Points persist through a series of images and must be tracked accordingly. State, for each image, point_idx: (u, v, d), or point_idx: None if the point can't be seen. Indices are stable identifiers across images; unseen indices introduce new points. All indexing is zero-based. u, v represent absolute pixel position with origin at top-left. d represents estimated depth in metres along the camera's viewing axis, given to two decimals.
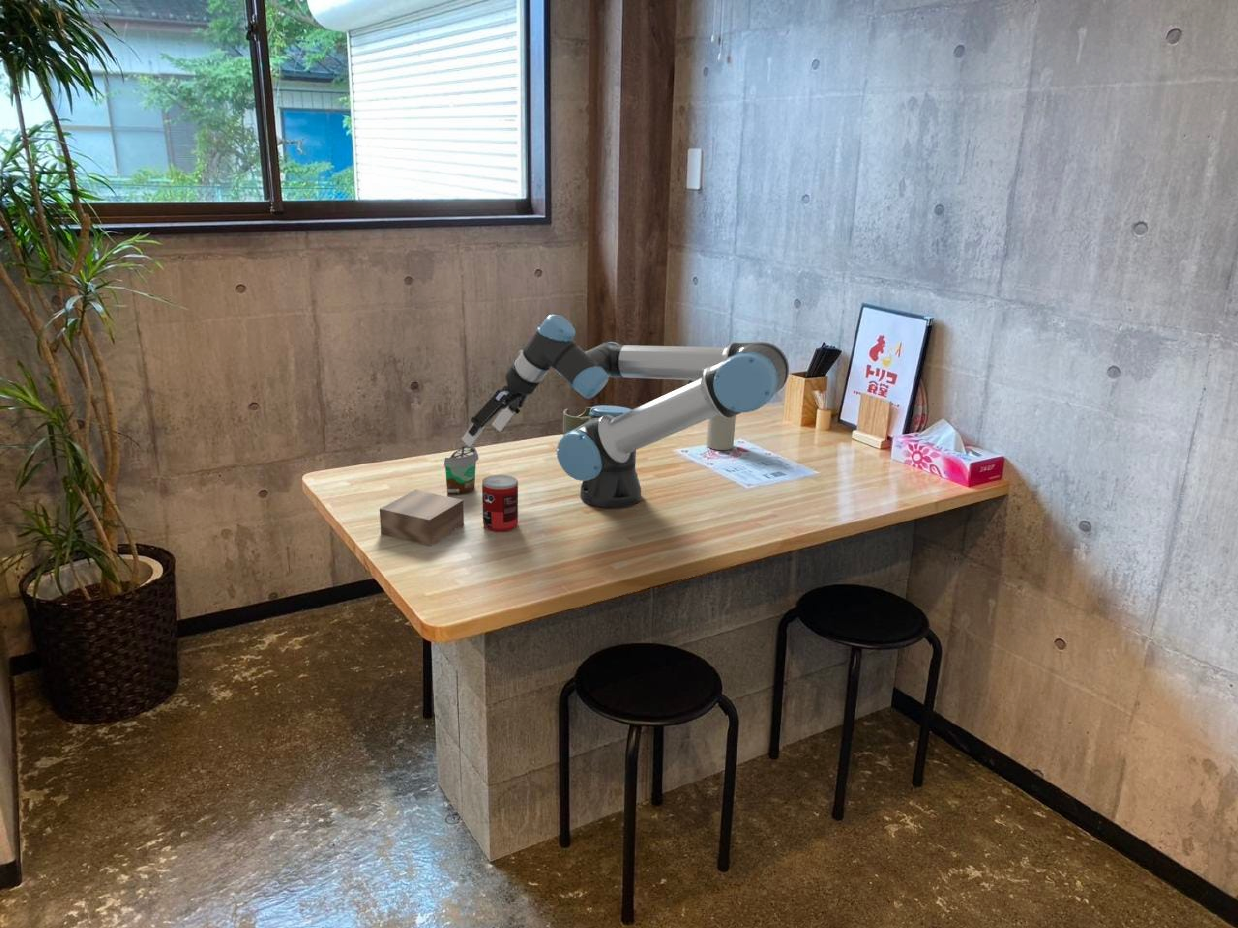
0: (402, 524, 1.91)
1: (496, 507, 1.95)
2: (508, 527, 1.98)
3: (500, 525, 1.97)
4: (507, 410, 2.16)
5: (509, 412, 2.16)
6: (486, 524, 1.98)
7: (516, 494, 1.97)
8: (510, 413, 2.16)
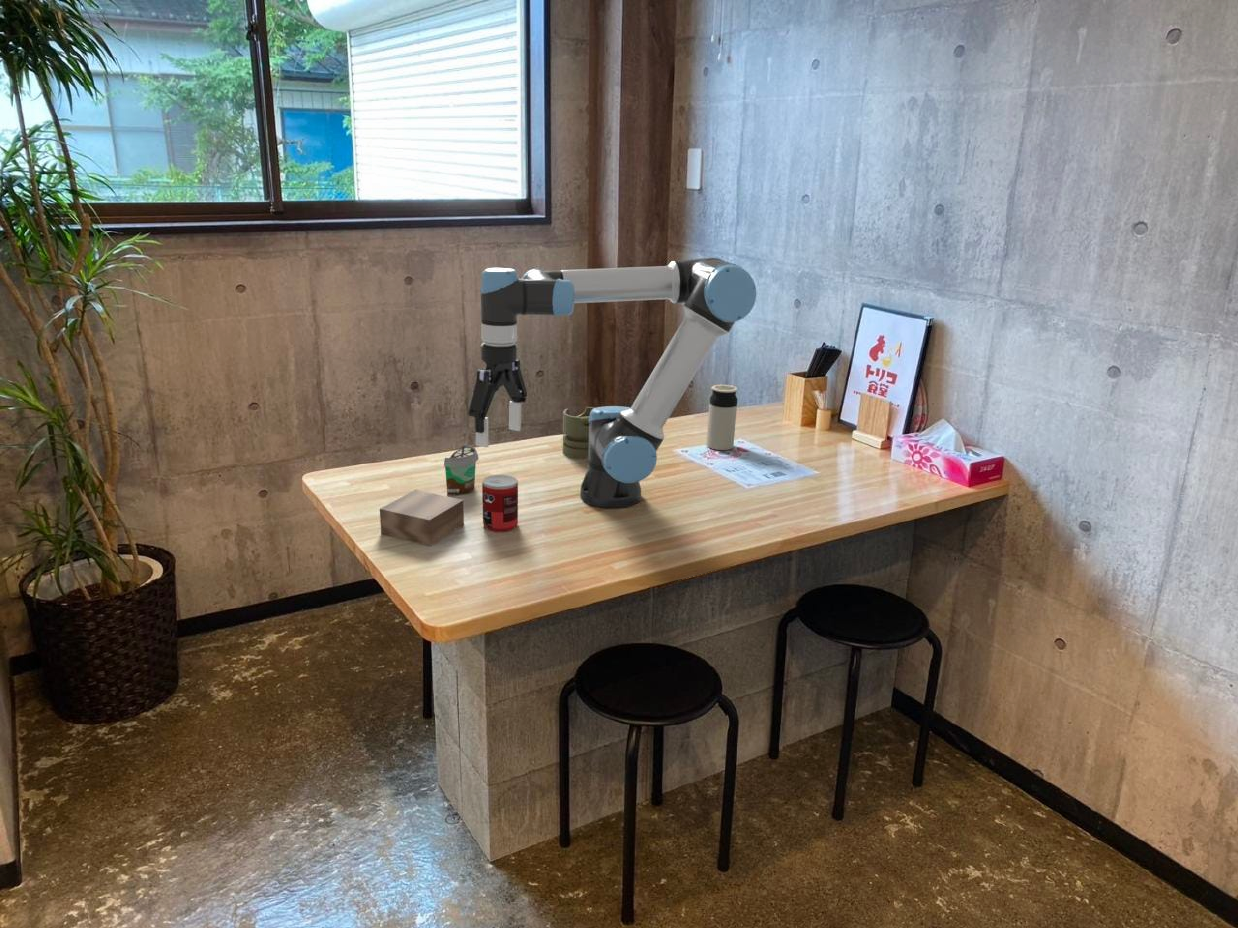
0: (402, 524, 1.91)
1: (496, 507, 1.95)
2: (508, 527, 1.98)
3: (500, 525, 1.97)
4: (513, 404, 1.98)
5: (516, 404, 1.98)
6: (486, 524, 1.98)
7: (516, 494, 1.97)
8: (517, 405, 1.97)
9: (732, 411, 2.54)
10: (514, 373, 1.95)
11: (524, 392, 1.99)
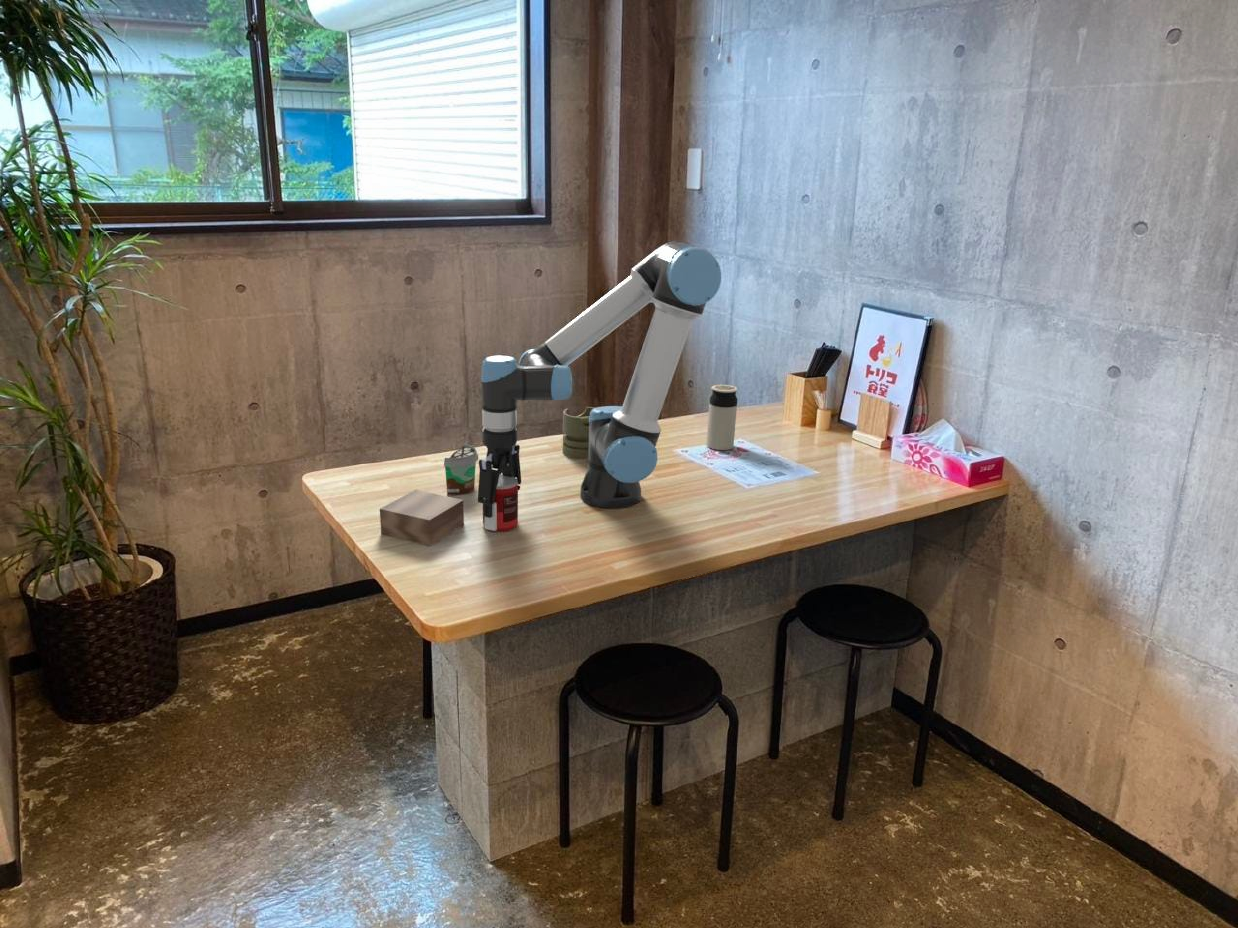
0: (402, 524, 1.91)
1: None
2: (508, 527, 1.98)
3: (500, 525, 1.97)
4: None
5: None
6: None
7: (516, 494, 1.97)
8: None
9: (732, 411, 2.54)
10: (512, 457, 2.01)
11: (519, 479, 2.03)
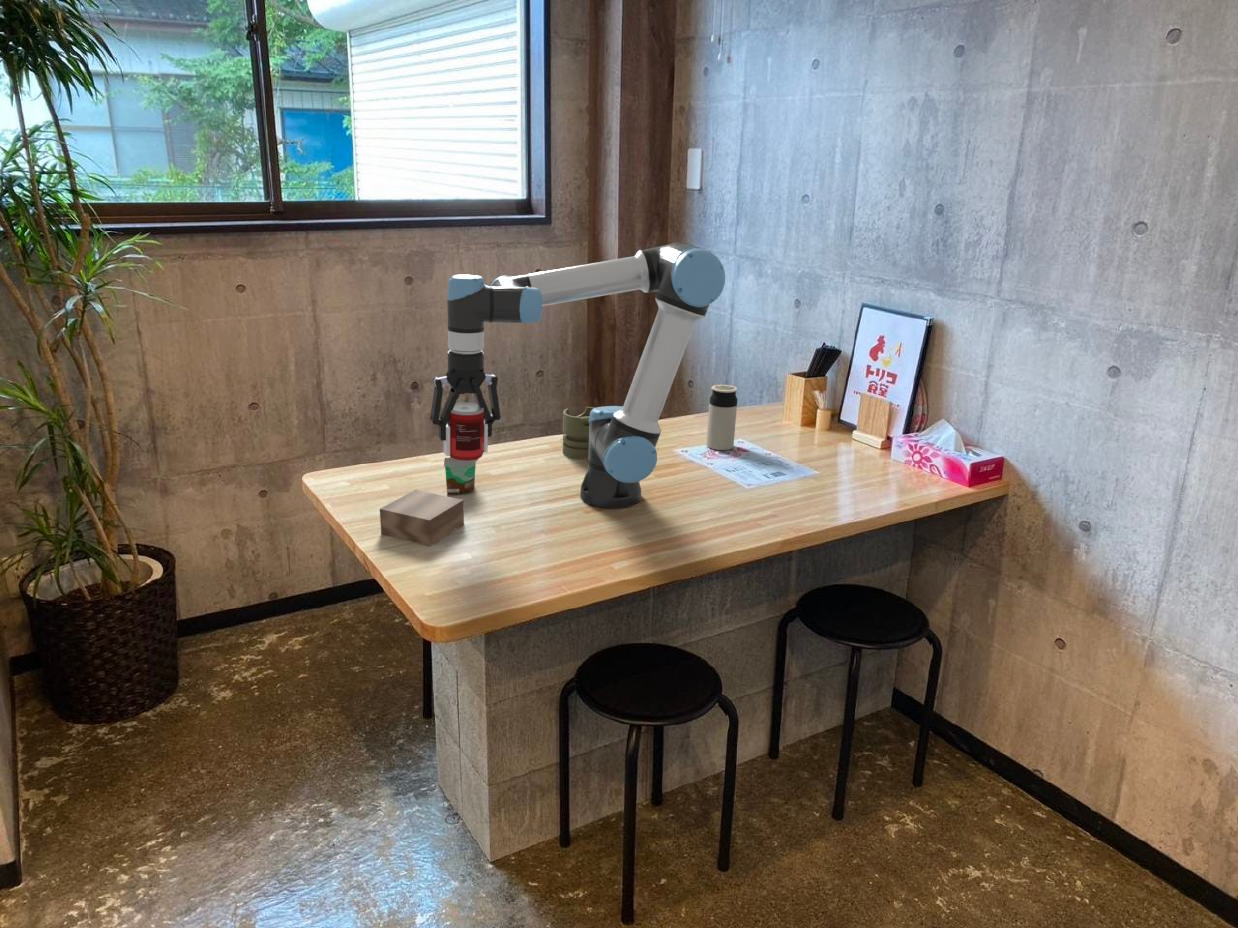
0: (402, 524, 1.91)
1: (451, 431, 1.89)
2: (461, 456, 1.90)
3: (453, 452, 1.90)
4: None
5: None
6: None
7: (474, 424, 1.88)
8: None
9: (732, 411, 2.54)
10: (489, 389, 1.91)
11: (496, 414, 1.92)
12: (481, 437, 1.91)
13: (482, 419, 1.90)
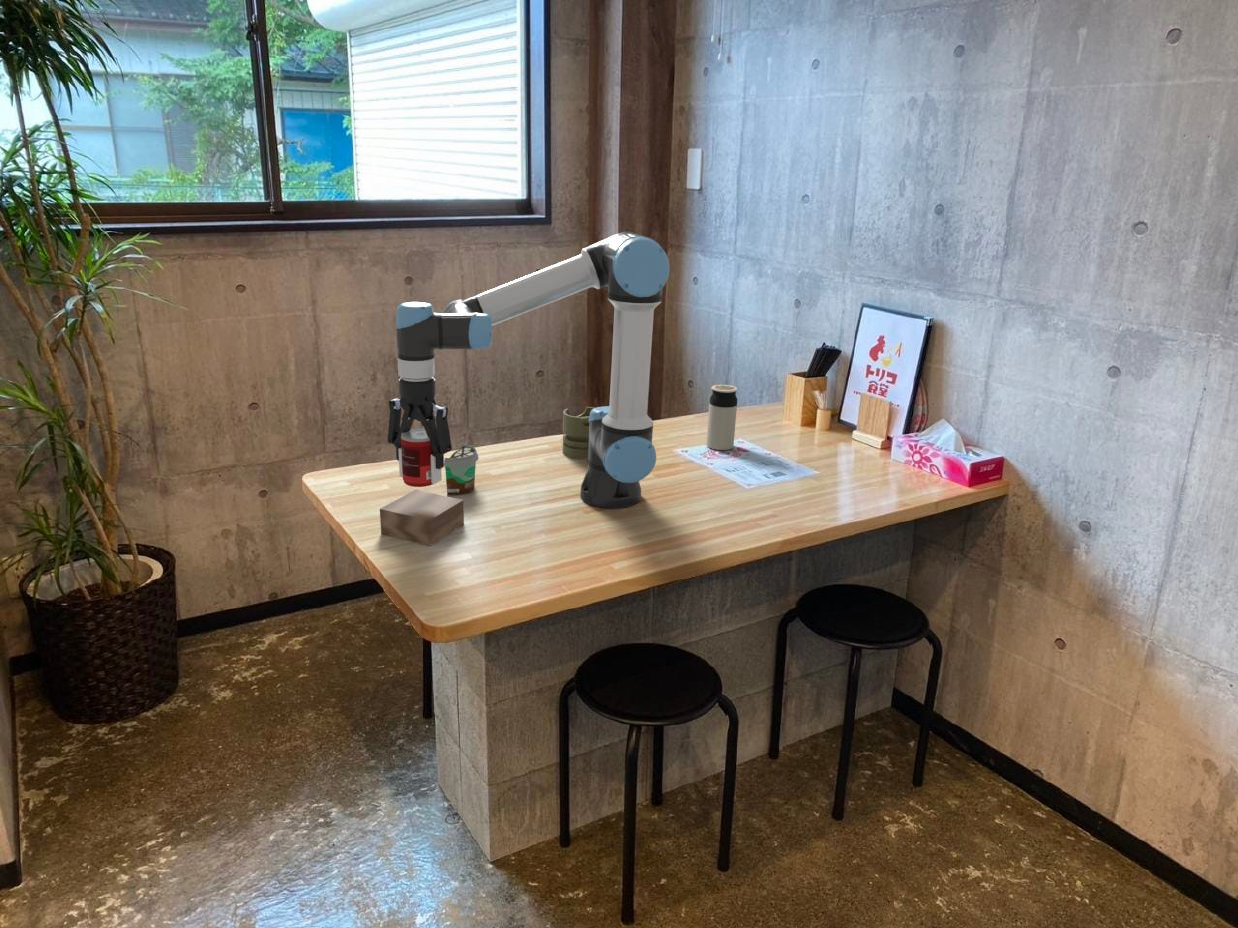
0: (402, 524, 1.91)
1: None
2: (404, 480, 1.91)
3: None
4: None
5: None
6: None
7: (411, 451, 1.87)
8: None
9: (732, 411, 2.54)
10: None
11: (441, 447, 1.87)
12: (422, 466, 1.89)
13: (423, 448, 1.87)
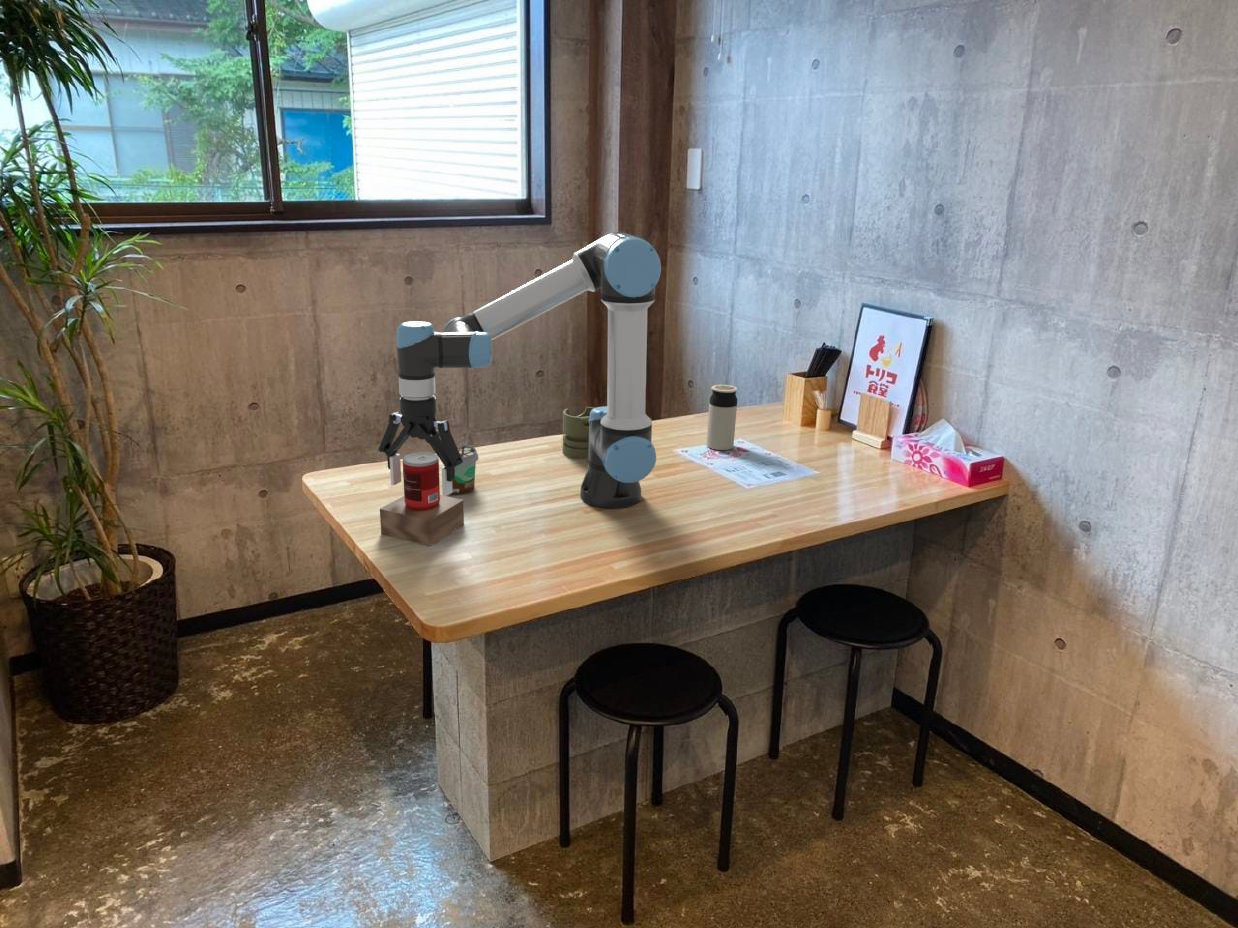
0: (402, 524, 1.91)
1: None
2: (406, 503, 1.93)
3: (404, 497, 1.95)
4: None
5: None
6: None
7: (412, 475, 1.89)
8: None
9: (732, 411, 2.54)
10: None
11: (451, 460, 1.87)
12: (423, 490, 1.90)
13: (425, 473, 1.89)
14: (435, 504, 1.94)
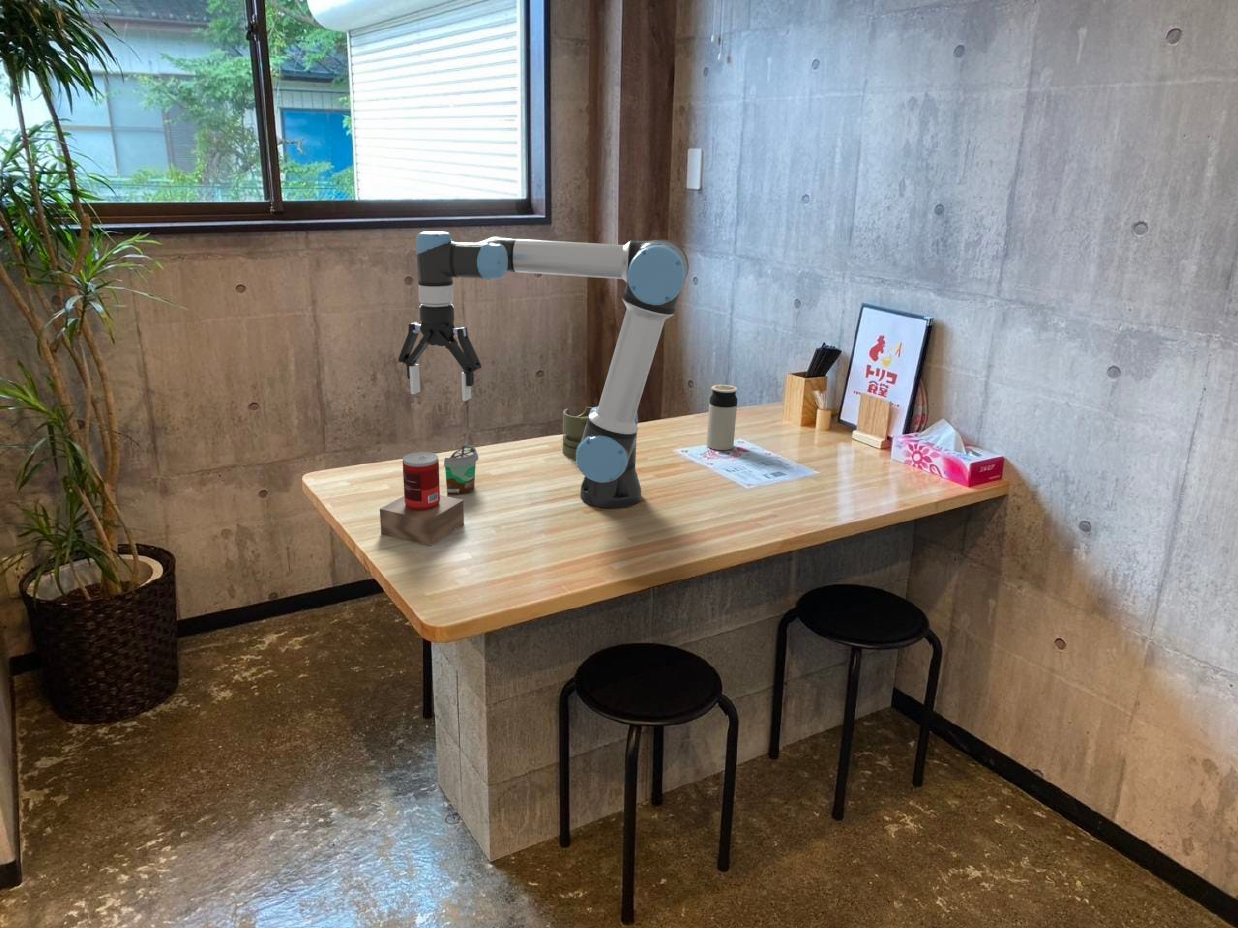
0: (402, 524, 1.91)
1: None
2: (406, 503, 1.93)
3: (404, 497, 1.95)
4: None
5: None
6: None
7: (412, 475, 1.89)
8: None
9: (732, 411, 2.54)
10: None
11: (471, 365, 1.96)
12: (423, 490, 1.90)
13: (425, 473, 1.89)
14: (435, 504, 1.94)
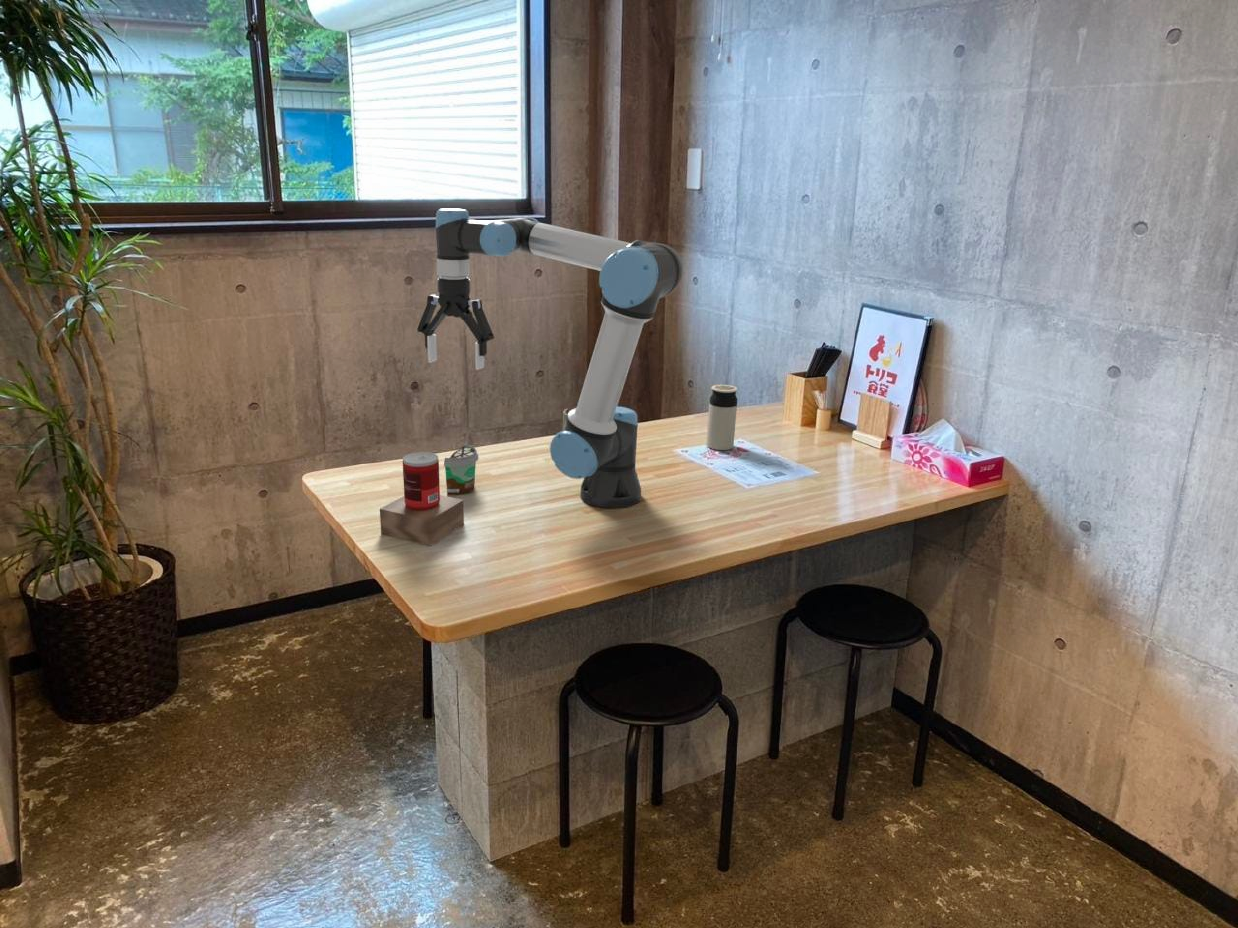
0: (402, 524, 1.91)
1: None
2: (406, 503, 1.93)
3: (404, 497, 1.95)
4: None
5: None
6: None
7: (412, 475, 1.89)
8: None
9: (732, 411, 2.54)
10: None
11: (484, 335, 2.08)
12: (423, 490, 1.90)
13: (425, 473, 1.89)
14: (435, 504, 1.94)
